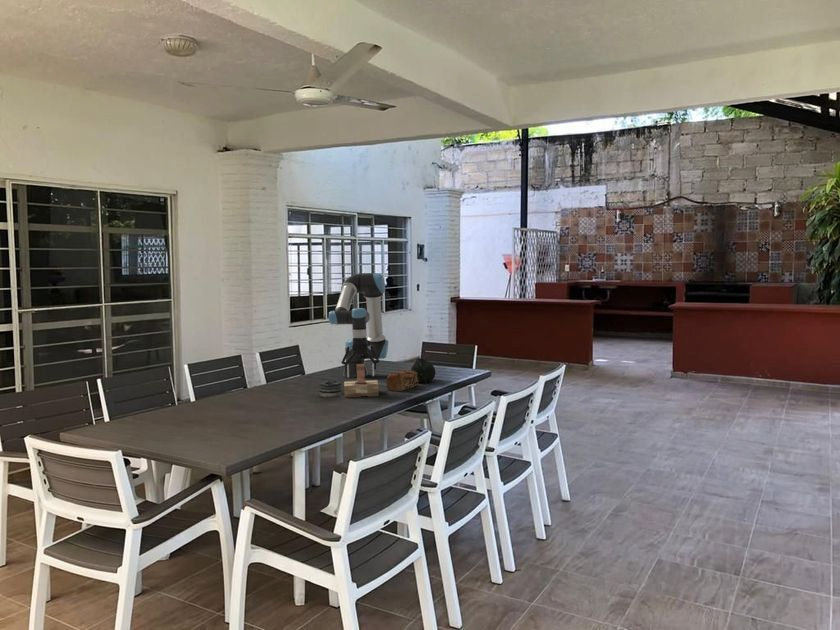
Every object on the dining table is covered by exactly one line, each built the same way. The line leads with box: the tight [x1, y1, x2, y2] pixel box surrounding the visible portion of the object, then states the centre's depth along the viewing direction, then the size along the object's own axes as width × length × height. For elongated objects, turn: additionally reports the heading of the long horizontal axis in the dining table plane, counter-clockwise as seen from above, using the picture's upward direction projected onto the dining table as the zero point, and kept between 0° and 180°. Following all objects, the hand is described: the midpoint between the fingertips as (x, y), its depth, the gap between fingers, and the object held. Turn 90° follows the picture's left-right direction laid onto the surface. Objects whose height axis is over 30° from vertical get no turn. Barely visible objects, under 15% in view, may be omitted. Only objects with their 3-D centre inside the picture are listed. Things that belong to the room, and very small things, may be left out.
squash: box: [410, 357, 437, 384], centre depth 385 cm, size 14×15×15 cm
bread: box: [386, 369, 419, 392], centre depth 368 cm, size 19×11×10 cm, turn 149°
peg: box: [356, 364, 366, 384], centre depth 353 cm, size 4×4×14 cm
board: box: [343, 379, 380, 398], centre depth 354 cm, size 14×18×6 cm
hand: (360, 376), depth 353 cm, fingers open, 13 cm apart
